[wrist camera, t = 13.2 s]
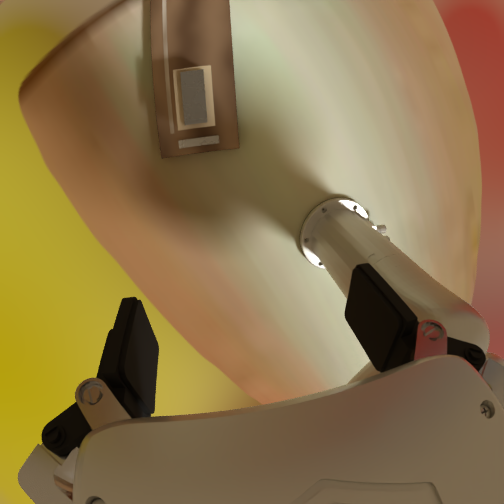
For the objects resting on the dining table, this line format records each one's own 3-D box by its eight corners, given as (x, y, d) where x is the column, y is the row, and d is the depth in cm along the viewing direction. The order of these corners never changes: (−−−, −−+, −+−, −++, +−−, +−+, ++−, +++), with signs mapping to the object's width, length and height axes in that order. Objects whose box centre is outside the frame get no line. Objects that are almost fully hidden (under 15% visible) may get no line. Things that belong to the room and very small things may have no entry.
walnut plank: (225, -37, 20) (227, -46, 17) (237, 146, 35) (240, 149, 32) (154, -29, 19) (151, -37, 16) (163, 156, 34) (160, 159, 31)
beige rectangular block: (209, 72, 27) (210, 64, 23) (213, 124, 31) (215, 125, 26) (177, 76, 27) (172, 69, 22) (181, 128, 30) (177, 130, 26)
